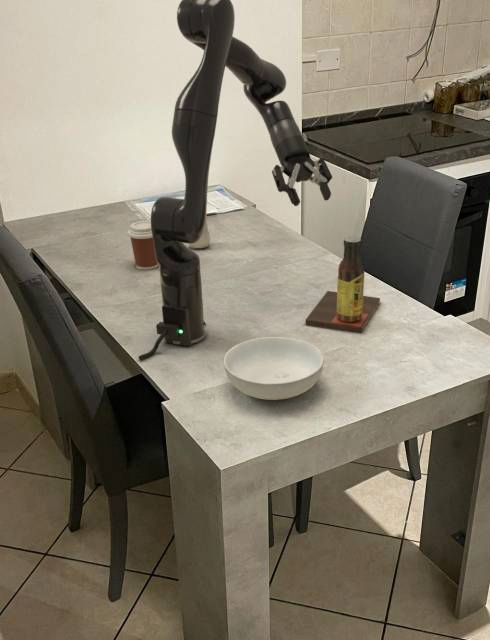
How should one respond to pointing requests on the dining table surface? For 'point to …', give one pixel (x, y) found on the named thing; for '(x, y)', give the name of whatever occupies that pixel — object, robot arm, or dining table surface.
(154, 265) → the coffee cup
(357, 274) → the sauce bottle
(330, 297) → the walnut board
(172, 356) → the dining table surface
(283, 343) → the serving bowl
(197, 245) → the plastic bottle
